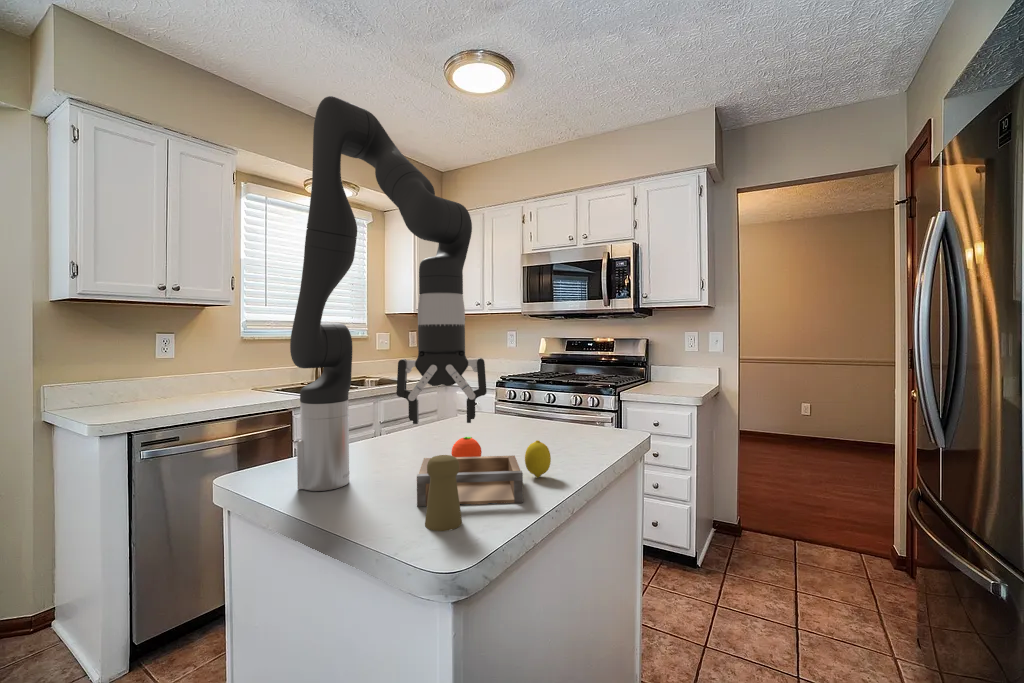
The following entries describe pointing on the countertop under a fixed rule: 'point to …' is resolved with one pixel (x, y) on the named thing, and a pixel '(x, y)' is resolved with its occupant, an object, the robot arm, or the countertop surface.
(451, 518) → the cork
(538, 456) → the lemon
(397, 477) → the countertop surface
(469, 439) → the clementine
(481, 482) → the box
